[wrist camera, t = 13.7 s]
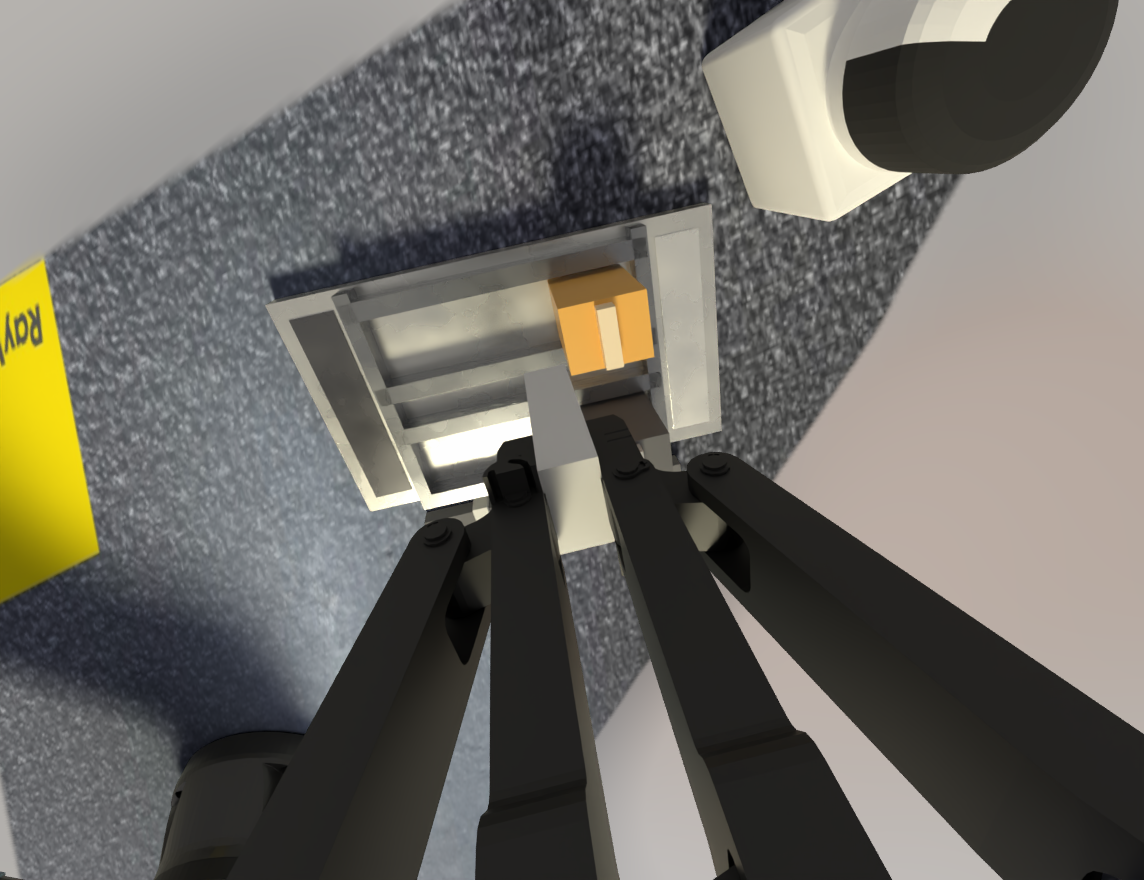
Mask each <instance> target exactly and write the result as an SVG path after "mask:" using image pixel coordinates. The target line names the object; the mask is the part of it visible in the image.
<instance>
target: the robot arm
mask: <svg viewBox="0 0 1144 880" xmlns="http://www.w3.org/2000/svg"><path fill="white" fill-rule="evenodd" d="M524 380H525V387H526V394H527V401H528V408H529V415H530V422H531V430H532V435H529V436H525V437H521V438H516V439H512V440H508V441H504V442H503V443H502V445H501V446H500V448H499V449H498V451H497V462H496V463H494V464H492V465H490V466H489V467H488V468H487V469H486V470H485V471H484V474H483V477H482V479H483V482H484V485H485V487H486V490H487V493H488V496H489V499H490V502H491V511H490V512H489V513H488V514H486V515H485V516H484V517H482V518H480V519H479V520H477V521H475V522H473V523H471V524H468V525H466V526H464V525H463V523H462V521H460V520H458V519H456V518H443V519H438V520H435V521H432V522H430V523H428V524H426V525H425V526H423V527H422V528H421V529H419V530H418V531H417V532H416V533H415V535H414V536H413V537H412V538H411V540H410V542H409V544H408V546H407V548H406V550H405V551H404V553H403V555H402V557H401V559H400V561H399V562H398V564H397V566H396V568H395V570H394V572H393V573H392V575H391V577H390V579H389V581H388V583H387V584H386V586H385V588H384V590H383V592H382V594H381V596H380V597H379V599H378V601H377V603H376V605H375V607H374V608H373V610H372V612H371V614H370V616H369V618H368V619H367V621H366V623H365V625H364V627H363V629H362V630H361V632H360V634H359V636H358V638H357V640H356V641H355V643H354V645H353V647H352V649H351V651H350V653H349V654H348V656H347V658H346V660H345V662H344V664H343V665H342V667H341V669H340V671H339V673H338V675H337V676H336V678H335V680H334V682H333V684H332V686H331V687H330V689H329V691H328V693H327V695H326V697H325V699H324V700H323V702H322V704H321V706H320V708H319V710H318V711H317V713H316V715H315V717H314V719H313V721H312V722H311V724H310V726H309V728H308V730H307V732H306V733H305V735H304V736H303V735H298V734H292V733H283V732H253V733H244V734H238V735H234V736H229V737H226V738H223V739H220V740H217V741H214V742H212V743H210V744H208V745H206V746H204V747H203V748H201V749H200V750H199V751H197V752H196V753H195V754H194V755H193V756H192V757H191V758H190V760H189V761H188V763H187V765H186V767H185V769H184V771H183V773H182V775H181V777H180V779H179V780H178V782H177V784H176V786H175V789H174V792H173V796H172V801H171V806H172V808H171V811H170V815H169V819H168V823H167V828H166V832H165V838H164V843H163V848H162V853H161V859H160V864H159V868H158V871H157V874H156V876H155V878H154V880H417V877H418V874H419V870H420V867H421V863H422V860H423V856H424V853H425V849H426V846H427V842H428V839H429V835H430V832H431V828H432V825H433V821H434V818H435V814H436V811H437V807H438V804H439V800H440V797H441V793H442V790H443V786H444V783H445V779H446V776H447V772H448V769H449V765H450V762H451V758H452V755H453V751H454V748H455V744H456V741H457V737H458V734H459V730H460V727H461V723H462V720H463V716H464V713H465V709H466V706H467V702H468V699H469V695H470V692H471V688H472V685H473V681H474V678H475V674H476V671H477V667H478V664H479V660H480V657H481V653H482V650H483V646H484V643H485V640H486V636H487V633H488V629H489V626H490V622H491V655H490V796H489V805H488V809H487V811H486V812H485V813H484V814H483V815H482V816H481V817H480V821H479V825H478V830H477V842H476V869H475V880H620V878H619V874H618V869H617V864H616V859H615V854H614V848H613V842H612V837H611V831H610V826H609V820H608V814H607V809H606V803H605V797H604V792H603V786H602V780H601V775H600V769H599V764H598V758H597V752H596V747H595V741H594V735H593V729H592V724H591V718H590V712H589V707H588V701H587V696H586V690H585V684H584V679H583V673H582V667H581V662H580V656H579V650H578V645H577V639H576V633H575V628H574V622H573V616H572V611H571V605H570V599H569V594H568V588H567V583H566V577H565V571H564V567H563V563H562V559H561V556H560V555H561V554H565V553H569V552H573V551H577V550H582V549H586V548H590V547H594V546H598V545H602V544H606V543H610V542H614V541H615V543H616V548H617V553H618V558H619V563H620V568H621V573H622V576H623V575H624V576H625V579H626V582H627V585H628V589H629V592H630V595H631V598H632V601H633V604H634V608H635V611H636V614H637V617H638V620H639V624H640V627H641V630H642V633H643V636H644V639H645V643H646V646H647V649H648V652H649V655H650V659H651V662H652V665H653V668H654V671H655V674H656V677H657V680H658V684H659V687H660V690H661V693H662V697H663V700H664V703H665V706H666V709H667V712H668V716H669V719H670V722H671V725H672V729H673V732H674V735H675V738H676V741H677V744H678V747H679V750H680V754H681V757H682V760H683V764H684V767H685V770H686V773H687V776H688V779H689V783H690V786H691V789H692V792H693V795H694V798H695V802H696V805H697V808H698V811H699V814H700V818H701V821H702V824H703V827H704V830H705V834H706V837H707V840H708V844H709V848H710V851H711V855H712V859H713V863H714V867H715V871H716V875H717V877H716V878H715V879H714V880H892V879H891V877H890V875H889V873H888V871H887V870H886V868H885V866H884V864H883V863H882V861H881V859H880V857H879V855H878V854H877V852H876V850H875V848H874V846H873V844H872V843H871V841H870V839H869V837H868V835H867V834H866V832H865V830H864V828H863V826H862V825H861V823H860V821H859V820H858V818H857V816H856V814H855V812H854V811H853V809H852V807H851V805H850V803H849V801H848V800H847V798H846V796H845V794H844V792H843V791H842V789H841V787H840V785H839V783H838V782H837V780H836V778H835V776H834V775H833V773H832V771H831V769H830V767H829V765H828V764H827V762H826V760H825V758H824V757H823V755H822V754H821V752H820V750H819V749H818V747H817V746H816V744H815V743H814V741H813V740H812V739H811V738H810V737H809V736H808V735H807V733H806V732H802V731H798V730H796V729H795V728H794V727H793V726H792V724H791V723H790V721H789V719H788V718H787V716H786V714H785V712H784V710H783V708H782V707H781V705H780V703H779V701H778V699H777V697H776V695H775V693H774V691H773V689H772V688H771V686H770V684H769V682H768V680H767V678H766V676H765V674H764V672H763V671H762V669H761V667H760V665H759V663H758V661H757V659H756V658H755V656H754V654H753V652H752V650H751V648H750V646H749V644H748V643H747V640H746V639H745V637H744V635H743V633H742V631H741V629H740V627H739V625H738V623H737V622H736V620H735V618H734V616H733V614H732V612H731V611H730V609H729V606H728V605H727V603H726V601H725V599H724V597H723V595H722V593H721V592H720V589H719V588H718V586H717V584H716V582H715V580H714V578H713V576H712V574H713V575H714V576H715V577H716V578H717V579H718V580H719V581H720V582H721V583H722V584H723V585H724V586H725V587H726V588H727V589H728V590H729V592H730V593H731V594H732V595H733V596H734V597H735V598H736V599H737V600H738V601H739V602H740V603H741V604H742V605H743V606H744V607H745V609H746V610H747V611H748V612H749V613H750V614H751V615H752V616H753V617H754V618H755V619H756V620H757V621H758V622H759V623H760V624H761V625H762V626H763V628H764V629H765V630H766V631H767V632H768V633H769V634H770V635H771V636H772V637H773V638H774V639H775V640H776V641H777V642H778V643H779V644H780V646H781V647H782V648H783V649H784V650H785V651H787V653H788V654H789V655H790V656H791V657H792V658H793V659H794V660H795V661H796V663H797V664H799V666H800V667H801V668H802V669H803V670H804V671H805V672H806V673H807V674H808V675H809V676H810V677H811V678H812V679H813V680H814V682H815V683H816V684H817V685H818V686H819V687H820V688H821V689H822V690H823V691H824V692H825V693H826V694H827V695H828V696H829V697H830V699H831V700H832V701H833V702H834V703H835V704H836V705H837V706H838V707H839V708H840V709H841V710H842V711H843V712H844V713H845V714H846V715H847V716H848V717H849V719H851V721H852V722H853V723H854V724H855V725H856V726H857V727H858V728H859V729H860V730H861V731H862V732H863V733H864V735H865V736H866V737H867V738H868V739H869V740H870V741H871V742H872V743H873V744H874V745H875V746H876V747H877V748H878V749H879V750H880V751H881V753H882V754H883V755H884V756H885V757H886V758H887V759H888V760H889V761H890V762H891V763H892V764H893V765H894V766H895V767H896V768H897V769H898V770H899V772H900V773H901V774H902V775H903V776H904V777H905V778H906V779H907V780H908V781H909V782H910V783H911V784H912V785H913V786H914V787H915V789H916V790H917V791H918V792H919V793H920V794H921V795H922V796H923V797H924V798H925V799H926V800H927V801H928V802H929V803H930V804H931V805H932V807H933V808H934V809H935V810H936V811H937V812H938V813H939V814H940V815H941V816H942V817H943V818H944V819H945V820H946V821H947V822H948V823H949V825H951V827H952V828H953V829H954V830H955V831H956V832H957V833H958V834H959V835H960V836H961V837H962V838H963V839H964V840H965V841H966V843H968V845H969V846H970V847H971V848H972V849H973V850H974V851H975V852H976V853H977V854H978V855H979V856H980V857H981V858H982V859H983V860H984V861H985V862H986V863H987V864H988V865H989V866H990V867H991V868H992V869H993V870H994V871H995V872H996V873H997V874H998V875H999V876H1000V877H1001V878H1002V879H1003V880H1144V734H1143V733H1141V732H1140V731H1138V730H1137V729H1135V728H1134V727H1132V726H1131V725H1130V724H1128V723H1126V722H1125V721H1124V720H1122V719H1121V718H1119V717H1118V716H1116V715H1115V714H1113V713H1112V712H1110V711H1109V710H1107V709H1106V708H1105V707H1103V706H1102V705H1100V704H1099V703H1097V702H1096V701H1094V700H1093V699H1091V698H1090V697H1088V696H1087V695H1086V694H1084V693H1083V692H1081V691H1080V690H1078V689H1077V688H1075V687H1074V686H1072V685H1071V684H1069V683H1068V682H1066V681H1065V680H1064V679H1062V678H1061V677H1059V676H1058V675H1056V674H1055V673H1053V672H1052V671H1050V670H1049V669H1047V668H1046V667H1044V666H1043V665H1042V664H1040V663H1038V662H1037V661H1035V660H1034V659H1033V658H1031V657H1030V656H1028V655H1027V654H1025V653H1024V652H1022V651H1021V650H1019V649H1018V648H1017V647H1015V646H1014V645H1012V644H1011V643H1009V642H1008V641H1006V640H1005V639H1003V638H1002V637H1000V636H999V635H997V634H996V633H995V632H993V631H992V630H990V629H989V628H987V627H986V626H984V625H983V624H981V623H980V622H978V621H977V620H975V619H974V618H973V617H971V616H969V615H968V614H967V613H965V612H964V611H962V610H961V609H959V608H958V607H956V606H955V605H953V604H952V603H950V602H949V601H948V600H946V599H945V598H943V597H942V596H940V595H938V594H937V593H936V592H934V591H933V590H931V589H930V588H928V587H927V586H926V585H924V584H923V583H921V582H920V581H918V580H917V579H915V578H914V577H912V576H911V575H909V574H908V573H907V572H905V571H904V570H902V569H901V568H899V567H898V566H896V565H895V564H893V563H892V562H890V561H889V560H887V559H886V558H884V557H883V556H882V555H880V554H879V553H877V552H875V551H874V550H873V549H871V548H870V547H868V546H867V545H865V544H864V543H862V542H861V541H859V540H858V539H857V538H855V537H854V536H852V535H851V534H849V533H848V532H846V531H845V530H843V529H842V528H840V527H839V526H838V525H836V524H835V523H833V522H832V521H830V520H829V519H827V518H826V517H824V516H823V515H821V514H820V513H818V512H817V511H816V510H814V509H812V508H811V507H810V506H808V505H807V504H805V503H804V502H802V501H801V500H799V499H798V498H796V497H795V496H794V495H792V494H791V493H789V492H788V491H786V490H785V489H783V488H782V487H780V486H779V485H777V484H776V483H774V482H773V481H772V480H770V479H769V478H767V477H766V476H764V475H763V474H761V473H760V472H758V471H757V470H755V469H754V468H752V467H751V466H749V465H748V464H747V463H745V462H744V461H742V460H741V459H739V458H738V457H736V456H733V455H731V454H728V453H722V452H710V453H705V454H701V455H698V456H697V457H695V458H693V459H691V461H690V462H689V463H688V465H687V471H677V472H672V471H662V470H658V469H655V467H654V465H653V464H652V463H651V462H650V461H649V460H647V459H644V458H643V456H642V454H641V452H640V450H639V448H638V447H637V445H636V443H635V441H634V439H633V437H632V435H631V433H630V431H629V430H628V427H627V425H626V423H625V421H624V420H623V419H621V418H620V417H618V416H616V415H614V414H612V415H608V416H604V417H599V418H595V419H591V420H587V421H585V419H584V416H583V414H582V411H581V408H580V405H579V402H578V400H577V397H576V394H575V391H574V388H573V386H572V383H571V380H570V377H569V374H568V372H567V369H566V366H565V364H561V365H557V366H552V367H548V368H544V369H540V370H536V371H531V372H527V373H524ZM614 538H615V540H614ZM709 570H710V571H711V572H712V574H711V572H710V571H709ZM0 880H23V879H18V878H12V877H7V876H5V873H4V872H0Z"/></svg>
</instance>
